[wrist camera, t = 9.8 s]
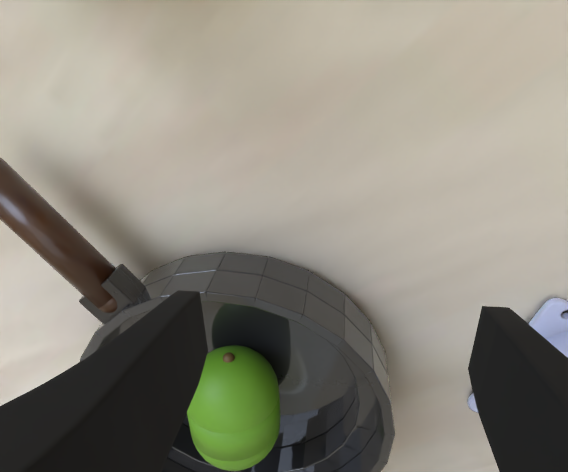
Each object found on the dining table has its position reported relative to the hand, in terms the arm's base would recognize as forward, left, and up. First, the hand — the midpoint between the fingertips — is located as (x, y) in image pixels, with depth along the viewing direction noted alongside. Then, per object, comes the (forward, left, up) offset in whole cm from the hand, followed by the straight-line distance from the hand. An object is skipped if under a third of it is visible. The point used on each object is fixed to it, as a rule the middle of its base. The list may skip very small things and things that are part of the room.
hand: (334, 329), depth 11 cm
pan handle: (+11, +5, -7) cm, 14 cm away
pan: (+1, +12, -9) cm, 15 cm away
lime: (+1, +12, -9) cm, 15 cm away
